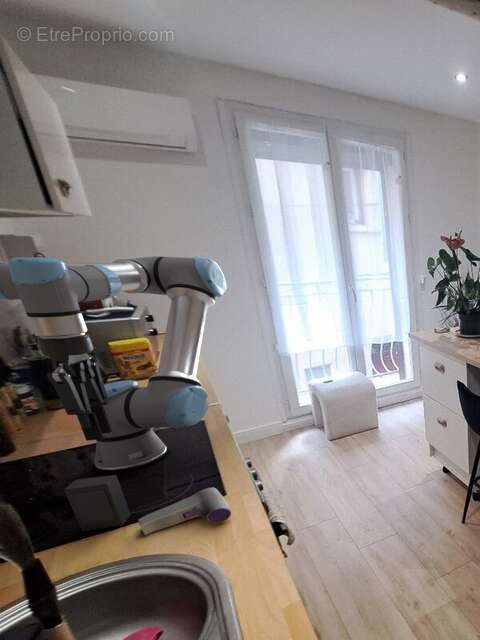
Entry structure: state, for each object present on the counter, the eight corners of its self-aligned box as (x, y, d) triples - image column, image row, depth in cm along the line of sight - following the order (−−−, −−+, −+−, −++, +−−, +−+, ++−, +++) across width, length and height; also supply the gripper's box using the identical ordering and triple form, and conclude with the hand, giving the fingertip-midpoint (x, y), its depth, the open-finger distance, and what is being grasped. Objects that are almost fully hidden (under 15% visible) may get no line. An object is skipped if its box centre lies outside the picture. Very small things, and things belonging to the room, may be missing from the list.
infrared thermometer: (142, 530, 93) (220, 498, 103) (154, 555, 86) (236, 518, 96) (134, 514, 91) (214, 483, 102) (146, 538, 84) (230, 503, 95)
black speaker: (92, 521, 94) (75, 479, 90) (131, 515, 96) (116, 474, 93) (81, 532, 90) (63, 490, 86) (122, 526, 93) (106, 484, 89)
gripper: (62, 328, 91) (97, 424, 99) (9, 344, 77) (55, 454, 86) (106, 327, 94) (136, 420, 102) (62, 342, 80) (102, 449, 88)
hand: (99, 435), depth 94 cm, fingers open, 3 cm apart
